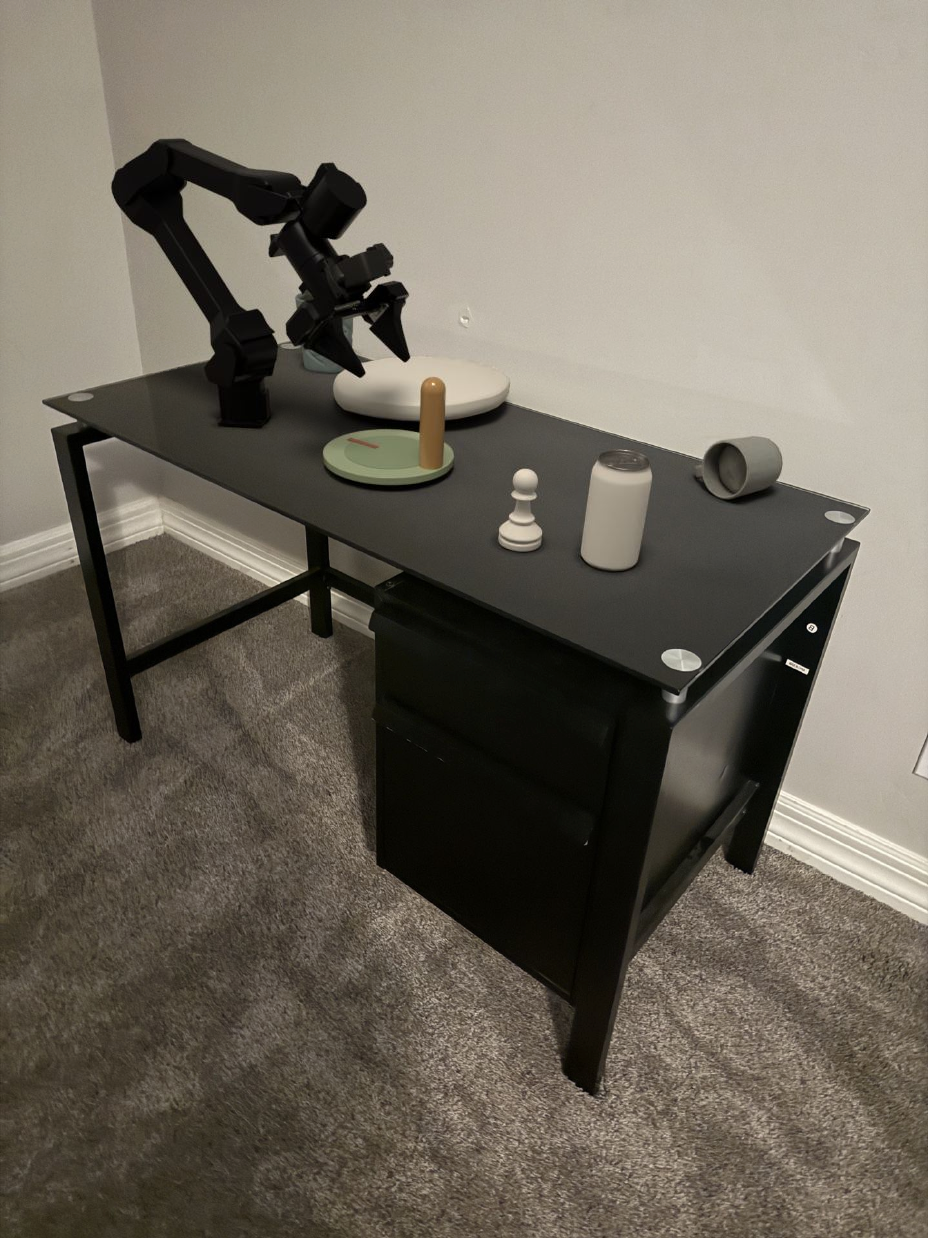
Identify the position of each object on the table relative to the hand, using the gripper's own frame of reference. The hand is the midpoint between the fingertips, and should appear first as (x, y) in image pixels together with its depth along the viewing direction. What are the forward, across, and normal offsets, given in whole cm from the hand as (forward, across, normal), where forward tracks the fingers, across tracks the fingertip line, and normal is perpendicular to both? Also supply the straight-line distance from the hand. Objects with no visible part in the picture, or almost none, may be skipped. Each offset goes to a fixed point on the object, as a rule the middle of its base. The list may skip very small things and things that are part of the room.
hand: (386, 367), depth 112 cm
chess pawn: (+28, -8, -9) cm, 31 cm away
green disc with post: (+10, 0, +9) cm, 13 cm away
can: (+35, -5, -16) cm, 39 cm away
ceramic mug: (+38, +23, -19) cm, 48 cm away
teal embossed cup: (-16, +30, +35) cm, 49 cm away
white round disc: (+2, +23, +17) cm, 29 cm away
